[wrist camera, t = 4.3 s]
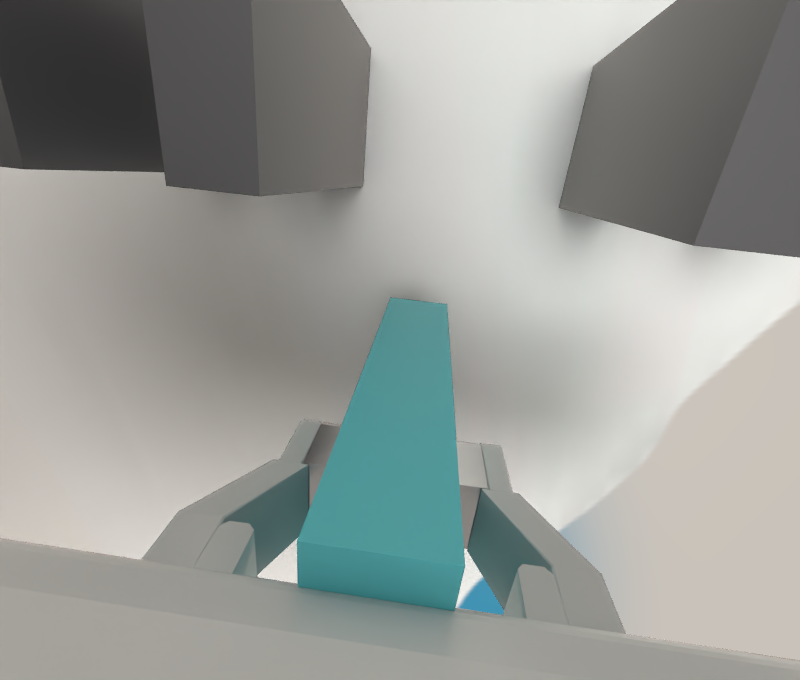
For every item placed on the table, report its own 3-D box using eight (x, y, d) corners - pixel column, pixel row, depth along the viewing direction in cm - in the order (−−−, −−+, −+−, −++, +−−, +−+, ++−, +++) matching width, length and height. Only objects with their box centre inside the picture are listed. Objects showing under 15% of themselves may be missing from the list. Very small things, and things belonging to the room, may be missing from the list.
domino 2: (370, 47, 15) (244, -154, 6) (363, 186, 17) (259, 196, 8) (320, 43, 15) (121, -159, 6) (318, 181, 17) (166, 185, 8)
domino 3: (649, 70, 14) (1002, -122, 5) (607, 213, 16) (807, 258, 7) (593, 66, 14) (837, -128, 5) (558, 207, 16) (694, 245, 7)
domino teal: (446, 304, 14) (465, 566, 5) (429, 422, 16) (417, 769, 7) (390, 297, 14) (297, 541, 5) (380, 415, 16) (299, 749, 7)
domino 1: (242, 37, 15) (-63, -167, 6) (249, 173, 17) (24, 169, 8) (194, 33, 16) (-172, -172, 6) (206, 169, 18) (-61, 159, 8)
